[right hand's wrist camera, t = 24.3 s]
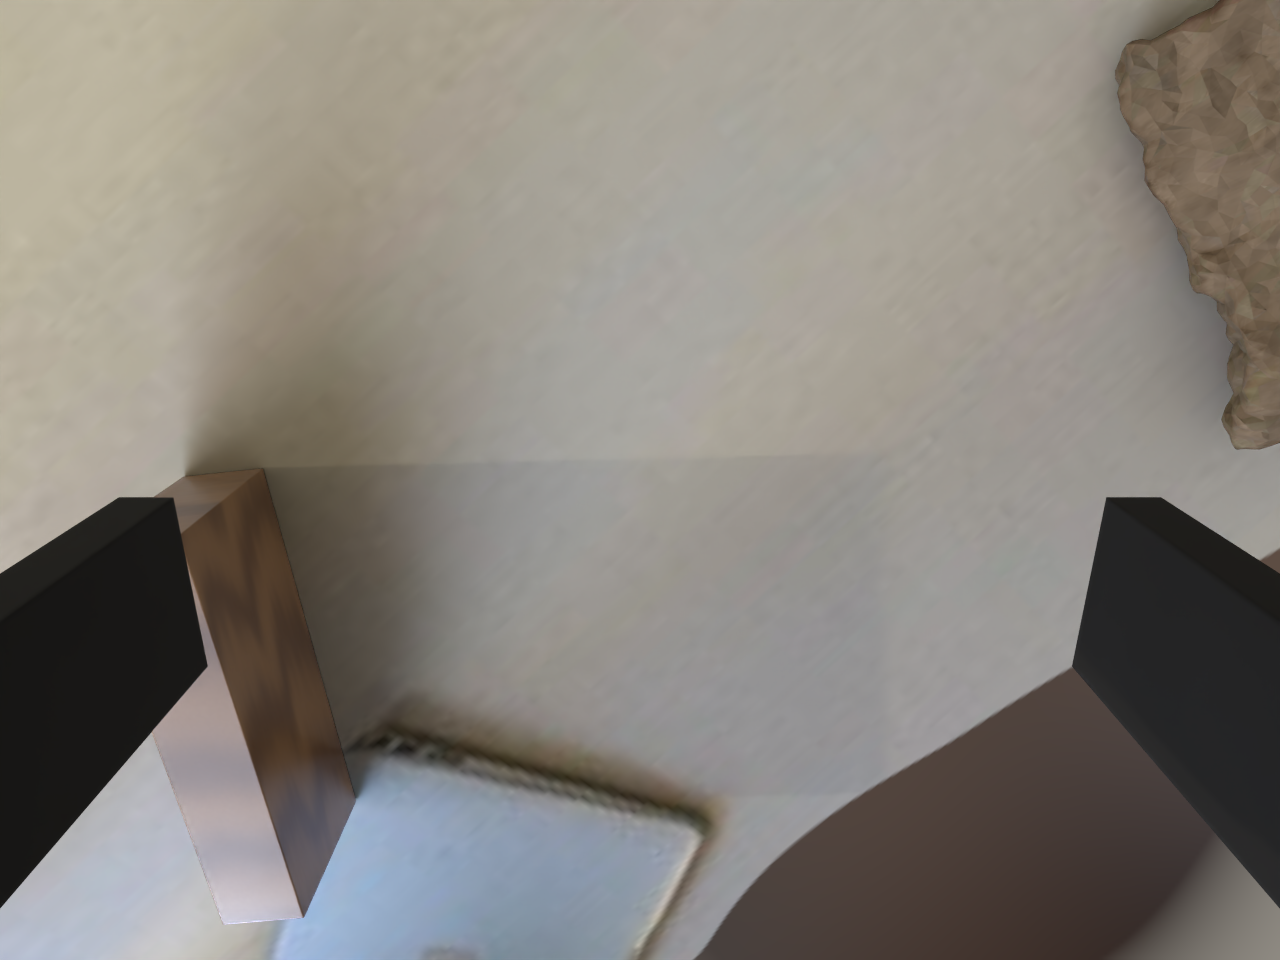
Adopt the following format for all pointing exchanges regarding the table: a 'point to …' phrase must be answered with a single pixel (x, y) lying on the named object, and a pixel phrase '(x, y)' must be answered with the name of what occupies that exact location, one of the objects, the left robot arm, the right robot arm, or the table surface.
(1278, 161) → the stone
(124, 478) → the table surface
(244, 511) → the bar
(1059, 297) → the table surface
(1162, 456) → the table surface
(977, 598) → the table surface
